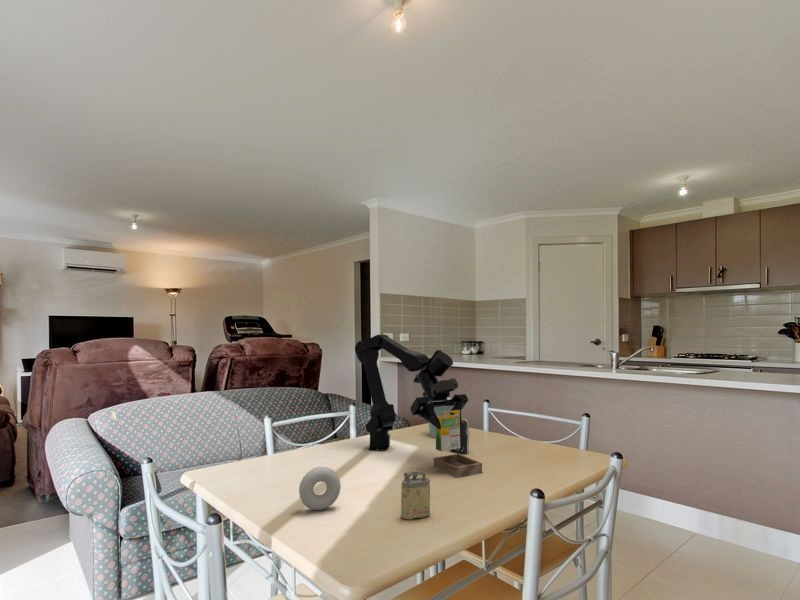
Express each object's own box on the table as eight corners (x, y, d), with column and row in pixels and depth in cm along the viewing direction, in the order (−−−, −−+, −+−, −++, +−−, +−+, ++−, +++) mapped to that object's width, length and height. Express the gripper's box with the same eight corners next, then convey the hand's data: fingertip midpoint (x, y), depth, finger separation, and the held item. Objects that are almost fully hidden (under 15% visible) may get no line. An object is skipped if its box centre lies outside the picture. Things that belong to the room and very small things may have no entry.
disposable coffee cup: (423, 438, 180) (423, 399, 181) (427, 432, 190) (428, 395, 191) (450, 440, 177) (450, 400, 178) (453, 433, 188) (453, 396, 189)
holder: (456, 477, 134) (456, 467, 134) (433, 466, 144) (433, 457, 144) (482, 472, 138) (481, 463, 139) (458, 462, 149) (458, 453, 149)
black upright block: (446, 451, 162) (447, 418, 162) (453, 449, 165) (453, 416, 165) (463, 455, 157) (463, 421, 158) (469, 453, 160) (469, 419, 160)
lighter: (426, 510, 110) (426, 468, 110) (433, 517, 106) (433, 472, 107) (398, 515, 107) (398, 471, 108) (404, 521, 104) (405, 476, 104)
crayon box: (454, 446, 143) (454, 408, 143) (460, 448, 140) (460, 409, 141) (435, 449, 139) (435, 410, 140) (441, 451, 137) (441, 412, 137)
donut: (338, 504, 113) (338, 462, 114) (342, 509, 110) (342, 466, 111) (297, 510, 110) (298, 467, 110) (300, 515, 106) (300, 471, 107)
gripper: (415, 370, 140) (435, 414, 130) (465, 368, 149) (487, 408, 139) (402, 393, 146) (420, 436, 136) (450, 389, 155) (471, 430, 145)
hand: (450, 427), depth 139 cm, fingers closed on crayon box, 7 cm apart
